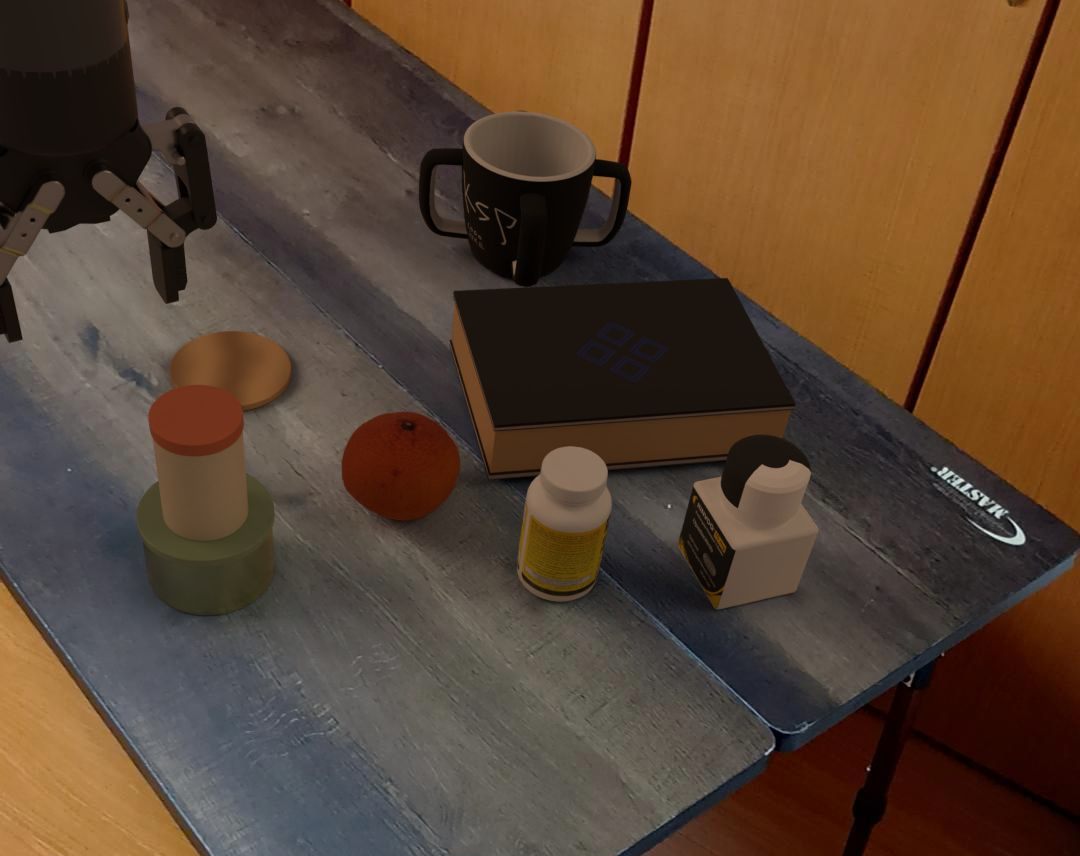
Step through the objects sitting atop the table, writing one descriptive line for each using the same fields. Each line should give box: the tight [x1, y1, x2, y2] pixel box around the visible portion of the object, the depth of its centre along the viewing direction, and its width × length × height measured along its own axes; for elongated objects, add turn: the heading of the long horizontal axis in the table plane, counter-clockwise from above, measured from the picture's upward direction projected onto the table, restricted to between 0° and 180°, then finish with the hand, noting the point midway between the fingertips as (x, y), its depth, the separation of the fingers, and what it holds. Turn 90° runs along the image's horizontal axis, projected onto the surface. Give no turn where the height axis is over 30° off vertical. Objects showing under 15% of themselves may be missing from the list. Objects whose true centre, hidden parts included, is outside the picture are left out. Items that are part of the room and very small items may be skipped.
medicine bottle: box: [677, 435, 819, 611], centre depth 98 cm, size 7×7×12 cm
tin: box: [135, 472, 276, 616], centre depth 94 cm, size 9×9×6 cm
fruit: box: [341, 411, 461, 521], centre depth 101 cm, size 9×9×8 cm
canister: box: [147, 385, 248, 541], centre depth 89 cm, size 6×6×9 cm
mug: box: [418, 110, 633, 288], centre depth 124 cm, size 16×16×12 cm
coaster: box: [169, 330, 292, 412], centre depth 112 cm, size 10×10×1 cm
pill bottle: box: [516, 446, 613, 603], centre depth 96 cm, size 6×6×11 cm
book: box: [448, 277, 797, 481], centre depth 112 cm, size 17×25×7 cm
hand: (90, 313), depth 72 cm, fingers open, 8 cm apart
